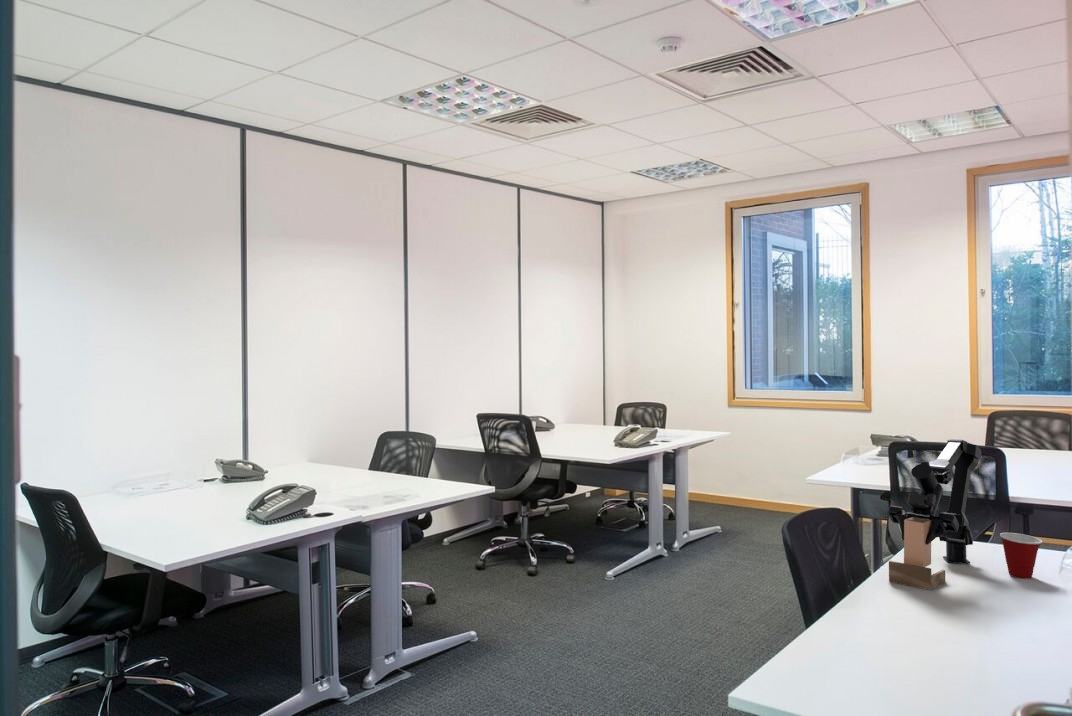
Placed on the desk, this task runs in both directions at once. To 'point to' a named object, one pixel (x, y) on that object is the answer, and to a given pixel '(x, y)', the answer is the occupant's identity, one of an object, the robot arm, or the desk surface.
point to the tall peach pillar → (917, 542)
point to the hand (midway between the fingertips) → (914, 541)
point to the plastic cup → (1020, 553)
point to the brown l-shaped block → (915, 575)
